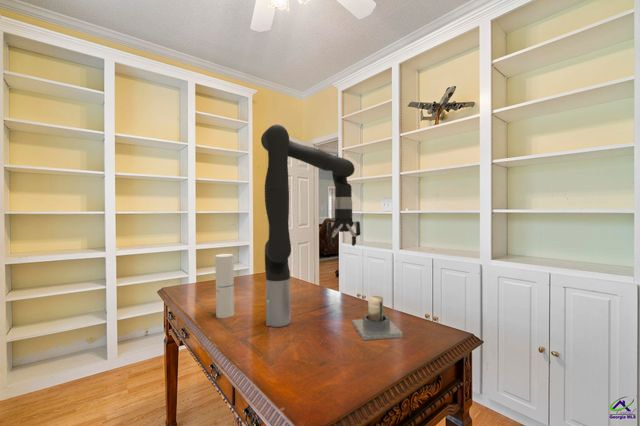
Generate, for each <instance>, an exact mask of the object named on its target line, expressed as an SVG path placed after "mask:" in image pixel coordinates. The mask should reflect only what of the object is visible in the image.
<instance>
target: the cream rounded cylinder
mask: <svg viewBox="0 0 640 426" xmlns="http://www.w3.org/2000/svg"><path fill="white" fill-rule="evenodd" d="M367 298H368V302H367V303H368V307H367V308H368V309H367V310H368V313H367V314H368V320H371V321H375V322H379V321H383V315H384V297H382V296H378V295H371V296H368V297H367Z"/></svg>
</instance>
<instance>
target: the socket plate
mask: <svg viewBox="0 0 640 426" xmlns="http://www.w3.org/2000/svg"><path fill="white" fill-rule="evenodd" d="M351 322H352V325H353V327H354V328H355V331H357V333H358V335H359V336H360V337H361V340H362V341H372V340H373V341H374V340H383V339H385V340H386V339H396V338H397V339H398V338H403V337H404V335H403V332H402V330H400V329H399V328H398V327H397V326H396V324H395V323H394V322H392V321H391V319H390V318H389V317H388V316H387V315H386V314H383V321H379V322H375V321H371V320H368V313H366V314H365V315H364V316H362V318H361V319H360V318H359V319H352V321H351Z"/></svg>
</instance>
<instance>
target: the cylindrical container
mask: <svg viewBox="0 0 640 426" xmlns="http://www.w3.org/2000/svg"><path fill="white" fill-rule="evenodd" d="M214 262H215V264H214V265H215V316H216V318H218V319H226V318H227V319H228V318H230V317H232V316H234V315H235V290H234V289H235V287H234V286H235V285H234V282H235V280H234V276H235V275H234V254H232V253H220V254H215V256H214Z"/></svg>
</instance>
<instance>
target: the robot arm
mask: <svg viewBox="0 0 640 426" xmlns="http://www.w3.org/2000/svg"><path fill="white" fill-rule="evenodd" d="M260 142H261V145H262V147H263V148H264V150H265V151H267V156H268V160H267V161H268V163H267V165H268V166H267V170H266V174H265V175H266V176H265V180H264V205H265V206H264V207H265V212H266V216H267V220H268V221H267V222H268V240H267V241H266V243H265V245H264V268H265V271H264V272H265V295H266V297H265V298H266V299H265V322H266V323H265V325H266V327H272V328H279V327H280V328H281V327H285V326H287V325H289V324H290V323H291V271H290V266H289V258H290V257H291V253H292V246H291V245H292V244H291V239H290V237H291V236H290V228H289V220H290V219H289V217H290V216H289V215H290V185H289V168H288V167H289V166H288V163H289V162H288V159H289V158H292V159H295V160H298V161H301V162H304V163H306V164H309V165H311V166H313V167H315V168H317V169H320V170H322V171H325V172H327V171H328V172H329V171H330V172H331V173H332V175H331V176H332V180H333V183H334V221H327V224H326V236H328V237H330V244H331V245H332V247H336V235H337V234H338V233H339V232H340V233H341V232H342V233H343V232H346V233H348V232H349V233H350V235H351V246H352V247H354V246H355V245H357V237H359V236H361V223H360V221H358V220H357V221H353V199H352V185H351V184H350V183H348V182H349V181H348V178H350V177H351V176H352V175H354V172H355V165H354V164H353V162H352V161H351V160H349V159H346V158H344V157H339V156H335V155H332V154H329V153H328V152H326V151H324V150H321V149H318V148H315V147H312V146H307V145H303V144H300V143H297V142H294V141H291V140H290V136H289V133H288V130H287V129H286V127H284V125H280V124H273V125H271V126H270V127H268V128H267V129H265V131H264V133H262V135H261V138H260ZM288 157H289V158H288ZM333 226H334V230H333V232H331V231H332V227H333ZM353 226H354V227H355V232H354V229H353V228H352V227H353Z"/></svg>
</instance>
